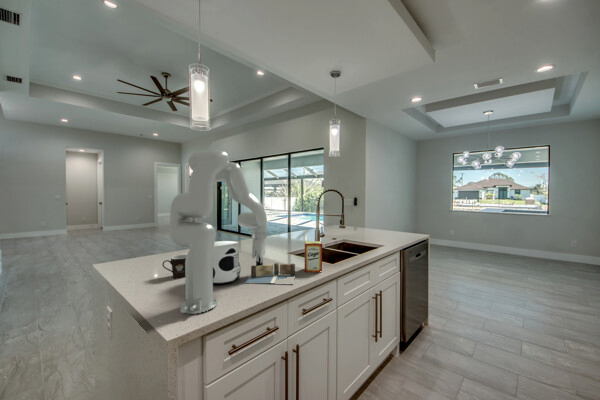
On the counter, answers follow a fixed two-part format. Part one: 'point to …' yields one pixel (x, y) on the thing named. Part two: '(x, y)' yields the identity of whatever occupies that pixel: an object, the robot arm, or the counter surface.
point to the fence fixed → (284, 269)
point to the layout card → (267, 278)
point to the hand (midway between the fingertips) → (259, 270)
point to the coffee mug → (177, 266)
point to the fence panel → (261, 270)
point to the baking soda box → (313, 256)
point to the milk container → (225, 262)
